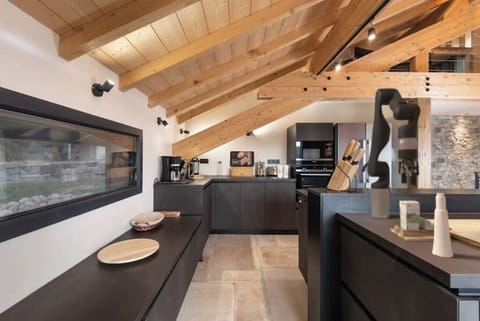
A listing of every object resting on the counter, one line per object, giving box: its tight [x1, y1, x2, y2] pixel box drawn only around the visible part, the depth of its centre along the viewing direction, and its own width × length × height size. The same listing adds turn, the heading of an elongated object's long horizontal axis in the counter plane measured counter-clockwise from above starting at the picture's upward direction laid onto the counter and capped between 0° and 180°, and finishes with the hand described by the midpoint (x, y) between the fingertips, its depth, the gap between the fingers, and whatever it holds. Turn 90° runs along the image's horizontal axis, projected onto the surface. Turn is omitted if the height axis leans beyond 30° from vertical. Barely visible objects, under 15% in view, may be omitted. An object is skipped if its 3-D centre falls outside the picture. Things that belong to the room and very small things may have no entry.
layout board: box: [389, 224, 452, 242], centre depth 117 cm, size 17×17×4 cm
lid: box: [420, 216, 453, 231], centre depth 116 cm, size 10×10×4 cm
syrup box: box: [399, 200, 421, 230], centre depth 117 cm, size 6×6×14 cm
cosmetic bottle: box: [431, 192, 454, 258], centre depth 94 cm, size 6×6×22 cm
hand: (408, 184), depth 118 cm, fingers open, 8 cm apart
